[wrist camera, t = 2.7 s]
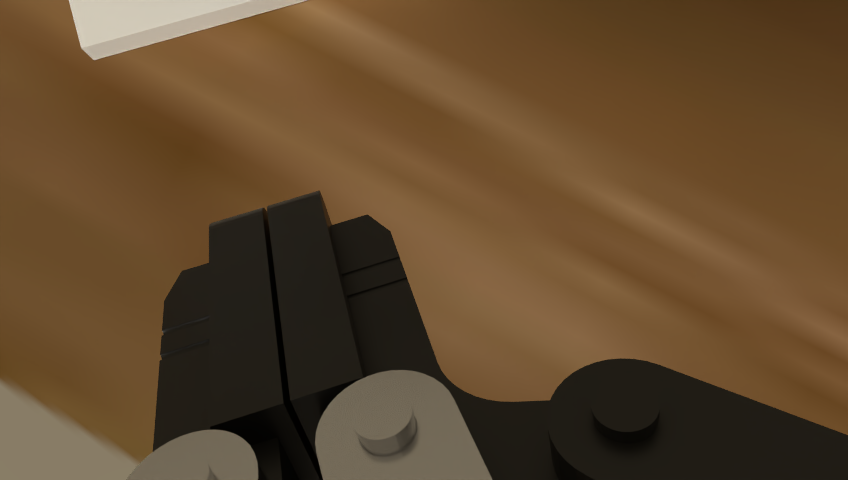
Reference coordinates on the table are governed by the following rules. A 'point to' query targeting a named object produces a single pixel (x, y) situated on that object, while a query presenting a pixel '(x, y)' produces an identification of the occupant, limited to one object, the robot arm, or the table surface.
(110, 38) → the base board
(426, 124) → the table surface
